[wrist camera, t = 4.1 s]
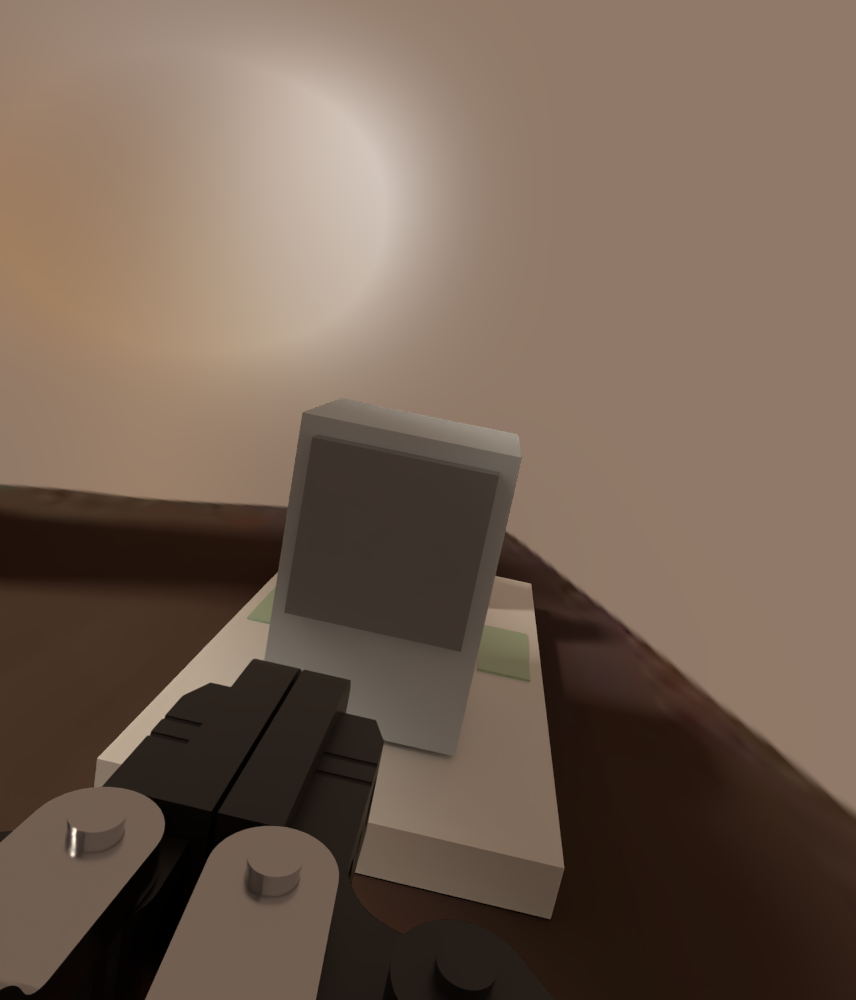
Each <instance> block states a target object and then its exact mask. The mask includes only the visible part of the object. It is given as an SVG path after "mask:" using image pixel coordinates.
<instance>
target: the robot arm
mask: <svg viewBox="0 0 856 1000" xmlns="http://www.w3.org/2000/svg"><path fill="white" fill-rule="evenodd" d="M350 687H351V680H348V679H344V678H340V677H335V676H331V675H326V674H322V673H318V672H313V671H309V670H303V671H301V669H299V668H295V667H290V666H286V665H281V664H277V663H273V662H268V661H264V660H259V659H253V660H252V661H251V662H250V663H249V664H248V666H247V667H246V668H245V669H244V671H243V672H242V673H241V675H240V676H239V677H238V678H237V680H236V681H235V682H234V684H233V685H232V686H231V687H228V686H224V685H220V684H215V683H211V682H210V683H208V684H206V685H204V686H202V687H200V688H198V689H196V690H193V691H191V692H189V693H187V694H185V695H183V696H182V697H181V698H180V699H179V700H178V701H177V702H176V704H175V705H174V706H173V707H172V708H171V709H170V710H169V711H168V713H167V714H166V715H165V718H164V719H161V720H160V722H159V723H158V724H157V725H156V726H155V727H154V728H153V729H152V731H151V734H150V736H149V735H147V736H146V737H145V738H144V740H143V741H142V742H141V743H140V744H139V745H138V746H137V747H136V749H135V750H134V751H133V752H132V753H131V754H130V755H129V756H128V758H127V759H126V760H125V761H124V762H123V763H122V764H121V765H120V767H119V768H118V769H117V770H116V771H115V772H114V773H113V774H112V776H111V777H110V778H109V779H108V780H107V781H106V782H105V783H104V785H103V786H102V787H94V788H86V789H81V790H76V791H73V792H69V793H66V794H64V795H61V796H59V797H57V798H54V799H53V800H51V801H49V802H47V803H46V804H44V805H43V806H42V807H40V808H39V809H38V810H36V811H35V812H34V813H33V814H32V815H31V816H30V817H29V818H27V819H26V820H25V821H24V822H23V823H22V824H21V825H20V826H18V827H17V828H16V829H15V830H14V831H6V832H0V1000H555V999H554V998H553V997H552V995H551V994H550V993H549V992H548V990H547V989H546V988H545V987H544V985H543V984H542V983H541V982H540V980H539V979H538V978H537V977H536V975H535V974H534V973H533V972H532V970H531V969H530V968H529V967H528V965H527V964H526V963H525V961H524V960H523V959H522V958H521V956H520V955H519V954H518V953H517V952H516V951H515V950H514V949H513V948H512V946H510V945H509V944H508V943H507V942H506V941H504V940H503V939H502V938H501V937H499V936H498V935H496V934H494V933H493V932H491V931H489V930H487V929H485V928H483V927H481V926H478V925H475V924H472V923H470V922H465V921H460V920H450V919H443V920H434V921H430V922H426V923H423V924H421V925H418V926H416V927H414V928H413V929H411V930H410V931H408V932H407V933H406V934H405V935H403V934H401V933H400V932H398V931H396V930H394V929H392V928H391V927H389V926H387V925H386V924H384V923H383V922H381V921H379V920H378V919H377V918H375V917H374V916H373V915H372V914H371V913H370V912H368V910H367V909H366V908H365V907H364V906H363V905H362V904H361V903H360V901H359V900H358V898H357V897H356V895H355V893H354V891H353V889H352V886H351V885H352V880H353V877H354V874H355V870H356V867H357V863H358V859H359V856H360V852H361V848H362V845H363V841H364V838H365V834H366V830H367V825H368V820H369V815H370V810H371V805H372V800H373V795H374V790H375V785H376V780H377V775H378V770H379V765H380V760H381V755H382V750H383V745H384V740H383V737H382V735H381V732H380V730H379V727H378V724H377V722H376V720H374V719H369V718H365V717H360V716H356V715H352V714H347V713H346V711H347V705H348V700H349V694H350Z"/></svg>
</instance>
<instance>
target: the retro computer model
mask: <svg viewBox="0 0 856 1000" xmlns="http://www.w3.org/2000/svg"><path fill="white" fill-rule="evenodd" d="M521 459H522V456H521V450H520V443H519V437H518V434H513V433H508V432H503V431H498V430H494V429H489V428H484V427H479V426H474V425H469V424H464V423H460V422H455V421H450V420H445V419H440V418H435V417H430V416H425V415H421V414H416V413H410V412H405V411H401V410H396V409H390V408H386V407H381V406H376V405H372V404H367V403H362V402H357V401H352V400H347V399H342V398H341V399H338V400H335V401H333V402H330V403H327V404H325V405H322V406H319V407H316V408H314V409H311V410H308V411H305V412H303V414H302V420H301V426H300V434H299V439H298V446H297V453H296V459H295V465H294V472H293V478H292V484H291V491H290V498H289V504H288V510H287V517H286V523H285V530H284V536H283V543H282V549H281V556H280V562H279V568H278V575H277V581H276V588H275V594H274V601H273V607H272V614H271V620H270V627H269V633H268V640H267V646H266V652H265V659H264V661H268V662H273V663H277V664H281V665H286V666H290V667H295V668H299V669H301V671H303V670H309V671H313V672H318V673H322V674H326V675H331V676H335V677H340V678H344V679H348V680H351V687H350V694H349V700H348V705H347V711H346V713H347V714H352V715H356V716H360V717H365V718H369V719H374V720H376V722H377V724H378V727H379V730H380V732H381V735H382V737H383V740H385V741H390V742H394V743H398V744H403V745H407V746H411V747H416V748H420V749H424V750H429V751H433V752H438V753H442V754H446V755H451V756H455V753H456V749H457V744H458V740H459V736H460V731H461V727H462V722H463V718H464V713H465V709H466V704H467V700H468V695H469V691H470V687H471V682H472V678H473V673H474V669H475V664H476V660H477V655H478V651H479V646H480V642H481V637H482V633H483V629H484V624H485V620H486V615H487V611H488V606H489V602H490V597H491V593H492V588H493V584H494V580H495V575H496V571H497V566H498V562H499V557H500V553H501V548H502V544H503V539H504V535H505V531H506V525H507V521H508V517H509V513H510V508H511V504H512V499H513V495H514V490H515V486H516V481H517V477H518V473H519V468H520V464H521Z"/></svg>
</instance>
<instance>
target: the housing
mask: <svg viewBox="0 0 856 1000" xmlns="http://www.w3.org/2000/svg"><path fill="white" fill-rule="evenodd" d="M277 575H278V572H277V573H276V574H275V575H274V576H273V577H272V578H271V579H270V580H269V581H268V582H267V583H266V585H265V586H264V587H263V588H262V589H261V590H260V591H259V592H258V593H257V594H256V595H255V596H254V597H253V598H252V599H251V600H250V601H249V602H248V603H247V604H246V605H245V606H244V607H243V608H242V609H241V610H240V611H239V612H238V613H237V614H236V616H235V617H234V618H233V619H232V620H231V621H230V622H229V623H228V624H227V625H226V626H225V627H224V628H223V629H222V630H221V631H220V632H219V633H218V634H217V635H216V636H215V637H214V638H213V639H212V640H211V641H210V642H209V643H208V644H207V646H206V647H205V648H204V649H203V650H202V651H201V652H200V653H199V654H198V655H197V656H196V657H195V658H194V659H193V660H192V661H191V662H190V663H189V664H188V665H187V666H186V667H185V668H184V669H183V670H182V671H181V672H180V673H179V674H178V675H177V677H176V678H175V679H174V680H173V681H172V682H171V683H170V684H169V685H168V686H167V687H166V688H165V689H164V690H163V691H162V692H161V693H160V694H159V695H158V696H157V697H156V698H155V699H154V700H153V701H152V702H151V703H150V704H149V705H148V707H147V708H146V709H145V710H144V711H143V712H142V713H141V714H140V715H139V716H138V717H137V718H136V719H135V720H134V721H133V722H132V723H131V724H130V725H129V726H128V727H127V728H126V729H125V730H124V731H123V732H122V733H121V734H120V735H119V736H118V738H117V739H116V740H115V741H114V742H113V743H112V744H111V745H110V746H109V747H108V748H107V749H106V750H105V751H104V752H103V753H102V754H101V755H100V756H99V757H98V758H97V765H96V775H95V784H94V787H102V786H103V785H104V783H105V782H106V781H107V780H108V779H109V778H110V777H111V776H112V774H113V773H114V772H115V771H116V770H117V769H118V768H119V767H120V765H121V764H122V763H123V762H124V761H125V760H126V759H127V758H128V756H129V755H130V754H131V753H132V752H133V751H134V750H135V749H136V747H137V746H138V745H139V744H140V743H141V742H142V741H143V740H144V738H145V737H146V736H147V735H149V736H150V734H151V731H152V729H153V728H154V727H155V726H156V725H157V724H158V723H159V722H160V720H161V719H164V718H165V715H166V714H167V713H168V711H169V710H170V709H171V708H172V707H173V706H174V705H175V704H176V702H177V701H178V700H179V699H180V698H181V697H182V696H183V695H185V694H187V693H189V692H191V691H193V690H196V689H198V688H200V687H202V686H204V685H206V684H208V683H210V682H211V683H215V684H220V685H224V686H228V687H231V686H232V685H233V684H234V682H235V681H236V680H237V678H238V677H239V676H240V675H241V673H242V672H243V671H244V669H245V668H246V667H247V666H248V664H249V663H250V662H251V661H252V660H253V659H259V660H264V659H265V652H266V646H267V640H268V633H269V627H270V620H271V614H272V607H273V601H274V594H275V588H276V581H277ZM563 872H564V860H563V852H562V843H561V835H560V826H559V818H558V809H557V801H556V792H555V783H554V775H553V766H552V758H551V749H550V741H549V732H548V724H547V715H546V707H545V698H544V689H543V681H542V672H541V664H540V655H539V647H538V638H537V630H536V621H535V613H534V604H533V595H532V587H531V584H530V583H525V582H521V581H516V580H511V579H507V578H502V577H497V576H495V580H494V584H493V588H492V593H491V597H490V602H489V606H488V611H487V615H486V620H485V624H484V629H483V633H482V637H481V642H480V646H479V651H478V655H477V660H476V664H475V669H474V673H473V678H472V682H471V687H470V691H469V695H468V700H467V704H466V709H465V713H464V718H463V722H462V727H461V731H460V736H459V740H458V744H457V749H456V753H455V756H451V755H446V754H442V753H438V752H433V751H429V750H424V749H420V748H416V747H411V746H407V745H403V744H398V743H394V742H390V741H385V740H384V745H383V750H382V755H381V760H380V765H379V770H378V775H377V780H376V785H375V790H374V795H373V800H372V805H371V810H370V815H369V820H368V825H367V830H366V834H365V838H364V841H363V845H362V848H361V852H360V856H359V859H358V863H357V867H356V870H355V873H359V874H363V875H367V876H371V877H376V878H380V879H384V880H388V881H392V882H397V883H401V884H405V885H409V886H413V887H418V888H422V889H426V890H430V891H434V892H438V893H443V894H447V895H451V896H455V897H459V898H464V899H468V900H472V901H476V902H480V903H484V904H489V905H493V906H497V907H501V908H505V909H510V910H514V911H518V912H522V913H526V914H531V915H535V916H539V917H543V918H547V919H551V916H552V912H553V909H554V905H555V901H556V898H557V894H558V890H559V887H560V883H561V879H562V876H563Z"/></svg>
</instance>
